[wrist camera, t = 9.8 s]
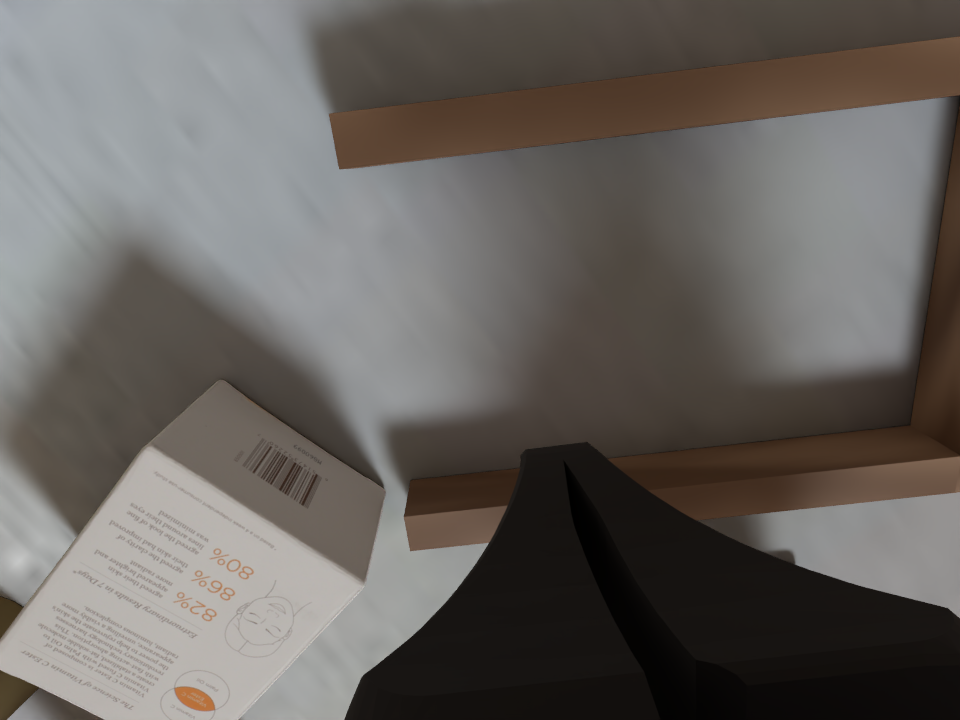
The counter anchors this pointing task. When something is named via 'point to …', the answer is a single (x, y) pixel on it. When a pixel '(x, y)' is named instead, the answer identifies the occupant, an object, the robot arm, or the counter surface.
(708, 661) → the robot arm
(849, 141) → the counter surface
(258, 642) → the small box
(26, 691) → the olive pepper shaker
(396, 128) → the open wooden frame
